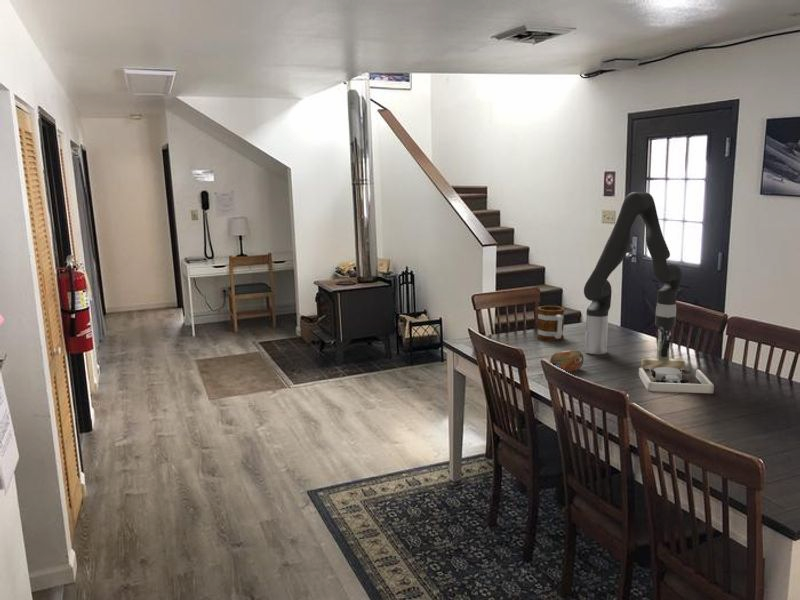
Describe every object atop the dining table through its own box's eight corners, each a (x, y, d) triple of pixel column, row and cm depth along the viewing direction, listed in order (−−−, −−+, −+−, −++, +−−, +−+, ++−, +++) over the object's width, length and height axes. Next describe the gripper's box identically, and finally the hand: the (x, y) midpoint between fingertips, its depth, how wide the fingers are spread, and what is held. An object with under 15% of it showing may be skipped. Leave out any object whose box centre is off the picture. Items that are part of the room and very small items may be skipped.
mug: (532, 335, 320) (533, 306, 317) (558, 334, 322) (559, 304, 319) (546, 345, 301) (546, 314, 298) (573, 343, 303) (574, 313, 300)
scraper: (642, 369, 261) (643, 340, 259) (641, 367, 264) (642, 339, 262) (684, 370, 258) (685, 342, 256) (682, 368, 261) (684, 340, 259)
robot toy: (692, 392, 236) (680, 377, 250) (693, 381, 234) (680, 366, 249) (658, 391, 237) (647, 376, 251) (659, 380, 236) (648, 365, 250)
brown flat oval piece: (553, 374, 257) (553, 354, 256) (548, 372, 260) (548, 352, 259) (583, 369, 263) (584, 349, 261) (578, 367, 266) (579, 347, 264)
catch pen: (648, 390, 235) (648, 383, 235) (638, 375, 254) (639, 367, 253) (713, 393, 231) (713, 385, 230) (699, 377, 250) (699, 369, 249)
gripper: (652, 310, 264) (650, 350, 267) (659, 317, 250) (656, 360, 254) (671, 310, 263) (669, 351, 266) (679, 318, 249) (676, 360, 252)
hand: (663, 355), depth 260 cm, fingers closed on scraper, 3 cm apart
